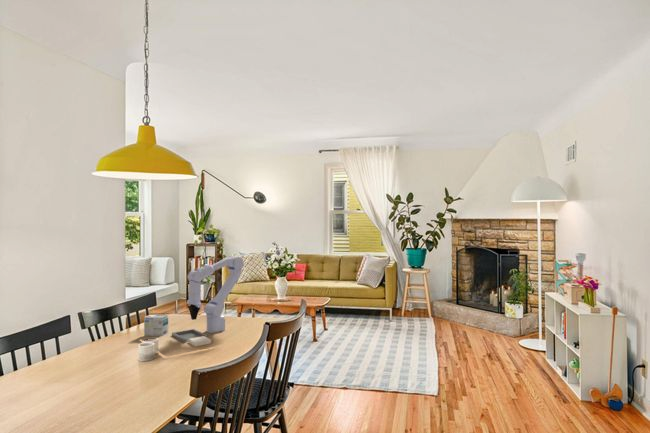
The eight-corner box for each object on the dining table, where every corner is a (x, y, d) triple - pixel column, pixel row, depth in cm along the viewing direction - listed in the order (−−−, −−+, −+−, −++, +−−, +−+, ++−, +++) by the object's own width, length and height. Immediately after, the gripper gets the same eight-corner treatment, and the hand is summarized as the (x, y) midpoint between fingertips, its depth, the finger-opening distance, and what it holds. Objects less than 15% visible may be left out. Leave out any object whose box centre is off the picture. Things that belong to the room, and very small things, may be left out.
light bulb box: (168, 334, 236) (168, 314, 236) (163, 337, 229) (163, 317, 229) (150, 333, 237) (149, 314, 237) (143, 337, 230) (143, 316, 230)
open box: (193, 333, 237) (193, 328, 237) (207, 340, 224) (207, 335, 224) (171, 337, 229) (171, 332, 229) (184, 344, 216) (184, 339, 216)
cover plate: (204, 340, 221) (204, 336, 221) (210, 343, 215) (210, 339, 215) (188, 343, 216) (188, 338, 216) (195, 347, 210) (195, 342, 210)
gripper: (181, 292, 234) (180, 317, 233) (193, 295, 222) (192, 322, 222) (194, 291, 238) (193, 316, 238) (206, 294, 227) (205, 321, 227)
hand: (193, 319), depth 230 cm, fingers closed
